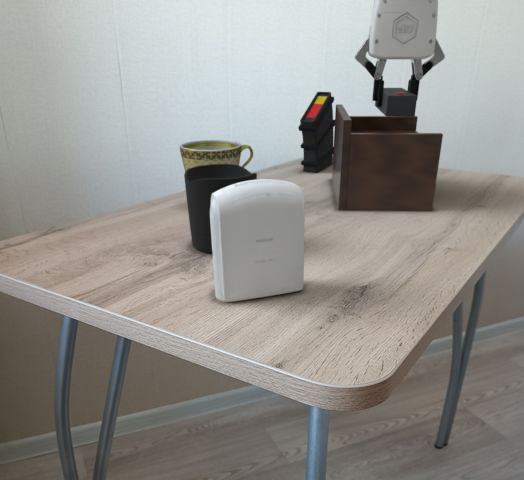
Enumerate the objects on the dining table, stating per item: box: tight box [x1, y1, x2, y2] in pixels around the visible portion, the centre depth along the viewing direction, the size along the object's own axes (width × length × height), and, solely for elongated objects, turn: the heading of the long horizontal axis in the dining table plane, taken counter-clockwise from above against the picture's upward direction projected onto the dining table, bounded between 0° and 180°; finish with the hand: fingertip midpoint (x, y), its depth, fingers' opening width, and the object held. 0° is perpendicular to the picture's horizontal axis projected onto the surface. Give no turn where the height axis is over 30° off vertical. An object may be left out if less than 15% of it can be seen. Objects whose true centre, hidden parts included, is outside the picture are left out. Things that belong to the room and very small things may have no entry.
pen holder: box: [183, 164, 258, 255], centre depth 74 cm, size 9×9×10 cm
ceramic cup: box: [179, 139, 254, 173], centre depth 92 cm, size 13×10×10 cm
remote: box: [374, 87, 418, 117], centre depth 92 cm, size 4×15×3 cm, turn 177°
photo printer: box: [210, 178, 306, 303], centre depth 59 cm, size 10×4×12 cm, turn 109°
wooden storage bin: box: [331, 103, 444, 212], centre depth 97 cm, size 15×22×14 cm
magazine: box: [297, 91, 335, 174], centre depth 117 cm, size 4×13×15 cm, turn 155°
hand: (394, 104), depth 93 cm, fingers closed on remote, 4 cm apart
